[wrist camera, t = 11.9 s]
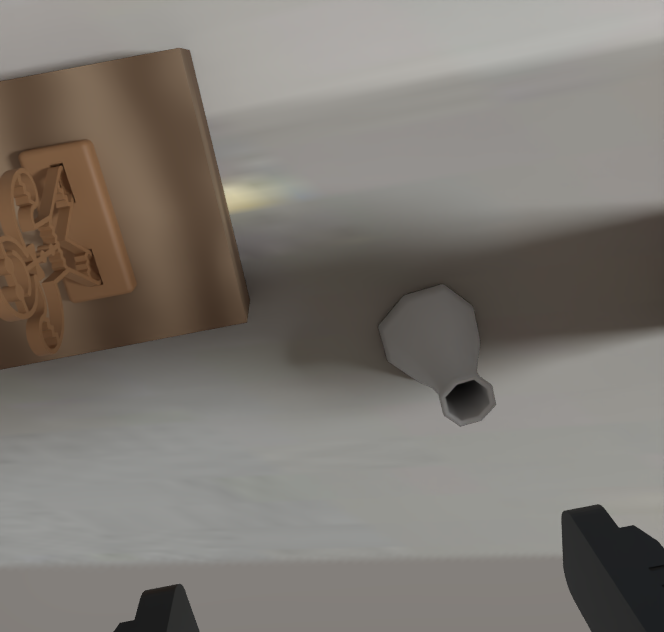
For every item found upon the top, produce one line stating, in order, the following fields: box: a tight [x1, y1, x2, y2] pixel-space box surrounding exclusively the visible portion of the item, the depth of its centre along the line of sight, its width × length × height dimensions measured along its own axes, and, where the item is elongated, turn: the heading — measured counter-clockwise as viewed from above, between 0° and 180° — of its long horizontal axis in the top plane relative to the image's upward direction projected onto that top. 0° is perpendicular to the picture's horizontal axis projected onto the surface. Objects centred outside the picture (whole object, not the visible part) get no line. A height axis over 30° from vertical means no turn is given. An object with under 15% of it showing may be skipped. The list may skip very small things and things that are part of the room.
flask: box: [378, 284, 496, 427], centre depth 39 cm, size 7×7×10 cm
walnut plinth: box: [0, 48, 250, 370], centre depth 37 cm, size 16×16×4 cm
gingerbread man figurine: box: [0, 139, 137, 356], centre depth 30 cm, size 9×4×12 cm, turn 10°
